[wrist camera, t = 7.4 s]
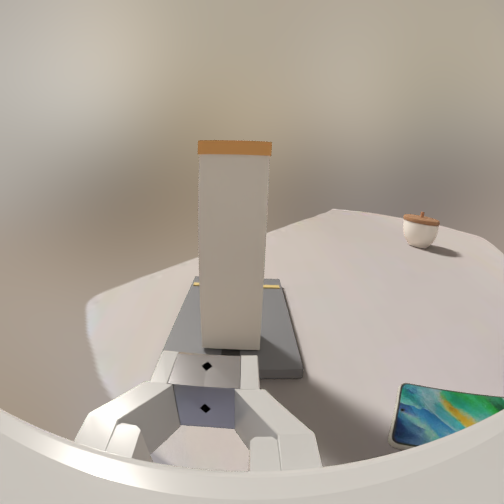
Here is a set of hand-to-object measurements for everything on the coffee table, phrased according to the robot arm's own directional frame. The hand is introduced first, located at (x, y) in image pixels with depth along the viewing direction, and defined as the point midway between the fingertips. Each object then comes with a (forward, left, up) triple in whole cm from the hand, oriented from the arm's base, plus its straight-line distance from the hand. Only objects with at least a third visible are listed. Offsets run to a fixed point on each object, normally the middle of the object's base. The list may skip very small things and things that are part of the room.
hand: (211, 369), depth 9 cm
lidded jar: (+27, -71, -10) cm, 77 cm away
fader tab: (+13, -7, -9) cm, 17 cm away
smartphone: (-8, -17, -11) cm, 22 cm away
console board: (+18, -10, -10) cm, 23 cm away
